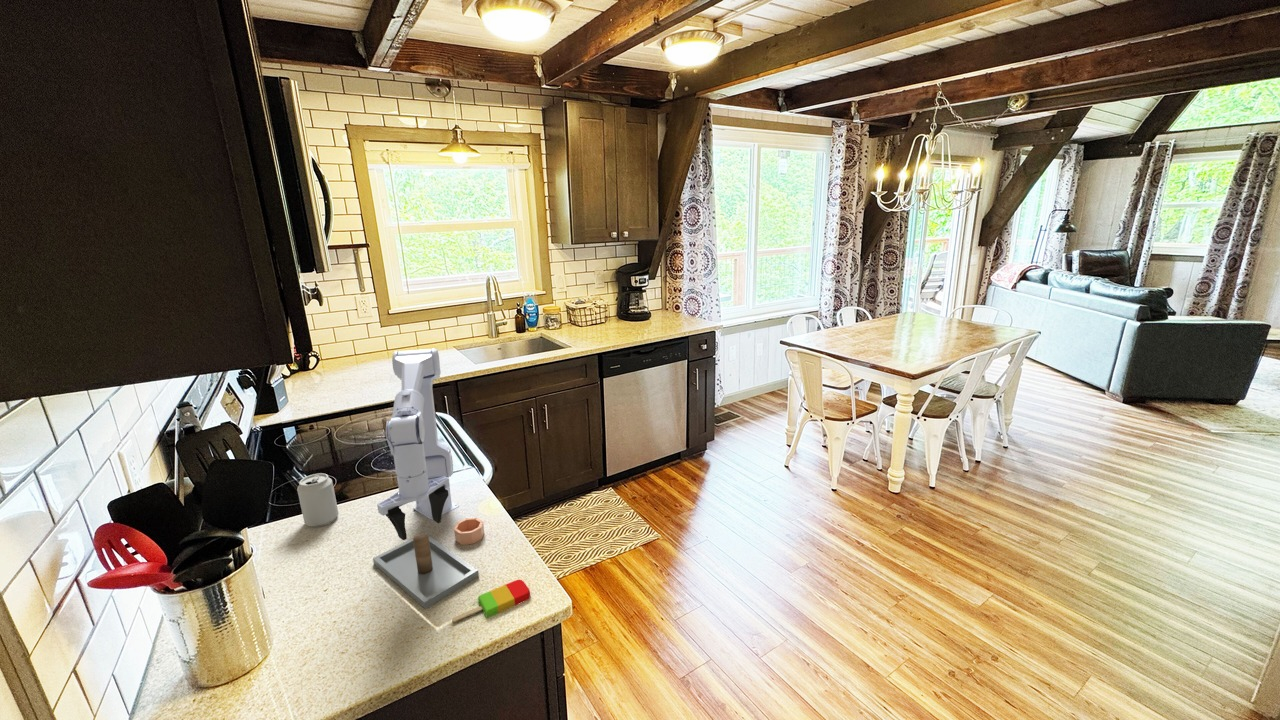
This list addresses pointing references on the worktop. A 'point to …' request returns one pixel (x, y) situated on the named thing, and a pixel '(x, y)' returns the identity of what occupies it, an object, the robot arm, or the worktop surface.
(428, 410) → the robot arm
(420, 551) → the pin
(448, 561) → the tray
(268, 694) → the worktop surface
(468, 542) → the cup
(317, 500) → the can
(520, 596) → the popsicle
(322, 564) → the worktop surface
